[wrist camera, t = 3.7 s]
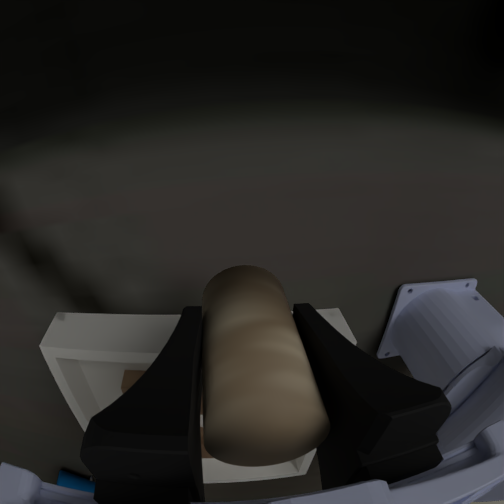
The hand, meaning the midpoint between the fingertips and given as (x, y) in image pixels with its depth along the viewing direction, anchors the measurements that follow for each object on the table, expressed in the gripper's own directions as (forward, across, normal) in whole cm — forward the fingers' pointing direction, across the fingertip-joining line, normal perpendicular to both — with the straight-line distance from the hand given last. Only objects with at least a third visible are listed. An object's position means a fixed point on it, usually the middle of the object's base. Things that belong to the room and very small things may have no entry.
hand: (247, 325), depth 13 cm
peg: (+2, 0, 0) cm, 2 cm away
